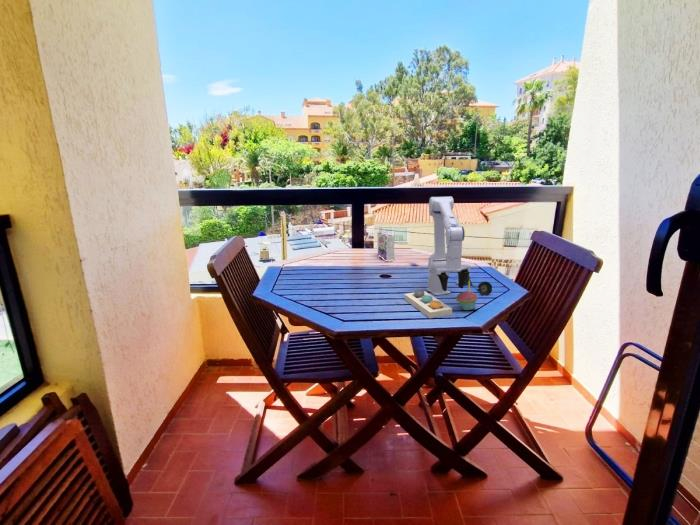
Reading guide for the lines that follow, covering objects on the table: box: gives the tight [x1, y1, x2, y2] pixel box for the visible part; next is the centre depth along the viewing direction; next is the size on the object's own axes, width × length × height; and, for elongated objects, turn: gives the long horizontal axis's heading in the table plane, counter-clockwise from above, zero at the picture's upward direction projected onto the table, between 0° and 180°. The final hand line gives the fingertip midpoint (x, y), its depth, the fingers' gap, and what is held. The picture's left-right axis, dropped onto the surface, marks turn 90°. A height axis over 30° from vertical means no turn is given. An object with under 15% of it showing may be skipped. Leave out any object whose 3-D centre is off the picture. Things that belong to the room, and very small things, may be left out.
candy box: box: [377, 230, 395, 260], centre depth 242 cm, size 14×6×16 cm, turn 17°
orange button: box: [430, 300, 442, 310], centre depth 159 cm, size 4×4×3 cm
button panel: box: [403, 290, 453, 319], centre depth 165 cm, size 23×10×2 cm, turn 18°
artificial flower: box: [455, 273, 493, 297], centre depth 186 cm, size 9×22×10 cm, turn 9°
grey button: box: [413, 289, 425, 298], centre depth 171 cm, size 4×4×3 cm
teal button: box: [422, 295, 433, 304], centre depth 165 cm, size 4×4×3 cm
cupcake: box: [455, 278, 479, 311], centre depth 160 cm, size 9×8×12 cm
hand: (452, 289), depth 159 cm, fingers open, 7 cm apart
